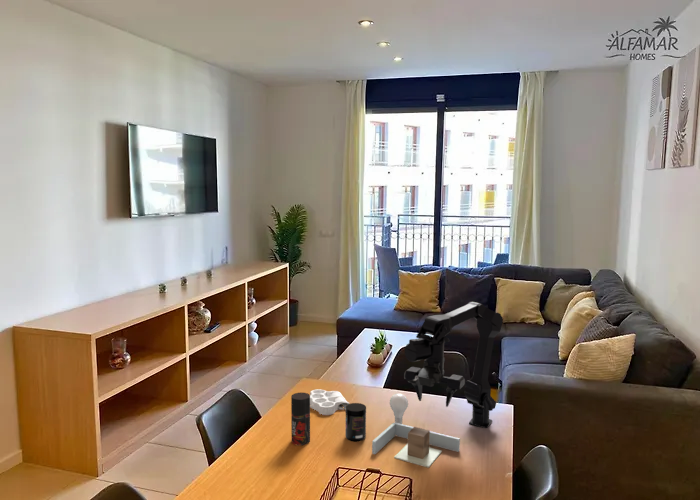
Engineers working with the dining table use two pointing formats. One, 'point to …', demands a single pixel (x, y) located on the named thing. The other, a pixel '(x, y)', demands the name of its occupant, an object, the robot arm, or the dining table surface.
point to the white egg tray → (326, 401)
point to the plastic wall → (402, 431)
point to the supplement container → (355, 422)
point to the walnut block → (418, 442)
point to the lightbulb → (398, 406)
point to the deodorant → (300, 418)
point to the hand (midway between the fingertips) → (433, 403)
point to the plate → (423, 462)
